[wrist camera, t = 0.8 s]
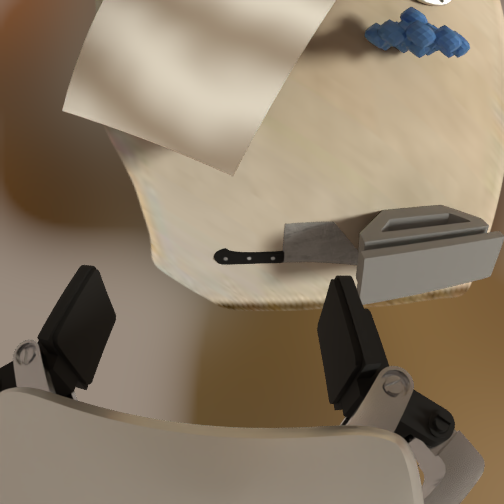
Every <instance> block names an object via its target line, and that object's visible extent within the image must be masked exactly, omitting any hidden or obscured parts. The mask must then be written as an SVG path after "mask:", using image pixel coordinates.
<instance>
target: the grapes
mask: <svg viewBox="0 0 504 504" xmlns="http://www.w3.org/2000/svg"><path fill="white" fill-rule="evenodd" d="M400 19H401V22H399V23H398V22H397V21H396V22H393V21H391V20H390V19H389V20H388V21H386V22H385V23H383V24H382V25H379V24H377V23H375V24H373V25H372V26H371V27H369V28H368V29H367V30H366V31H365V38H366V39H367V40H368V41H369V42H370V43H372V44H373V45H375V46H377V47H378V48H381V49H383V50H385V51H386V50H387V49H389V48H390V47H392V46H393V47H396V48H397V49H398V50H400V51H401V52H403V53H405V52H407V51H408V50H409V51H411V52H412V53H413V54H414V55H416V56H417V57H419V58H420V57H422V56H424V55H425V54H426V55H427V56H428V55H430V54H432V53H434V52H435V51H438V50H439V51H441V52H442V53H443V54H444V55H445V56H447V57H448V58H449V57H451V56H453V55H455V56H456V57H460V56H462V55H464V54H466V53H467V51H468V50H469V49H470V46H469V43H468V41H467V40H466V39H465V38H464V37H462V36H461V35H460V34H458V33H457V32H456V31H453V30H451V29H450V28H448V27H447V26H445V25H444V26H442V27H440V28H437V27H435V26H434V25H431V24H429V23H427V22H428V21H427V19H426V17H425V15H423V14H422V13H421V12H420V11H418V10H416V9H414V8H413V7H410V8H408V9H407V10H405V11H404V12H403V13H401V16H400Z"/></svg>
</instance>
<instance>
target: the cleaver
mask: <svg viewBox="0 0 504 504" xmlns="http://www.w3.org/2000/svg"><path fill="white" fill-rule="evenodd" d="M214 258H215V260H216V261H217V262H218V263H219V264H257V263H282V262H323V263H339V264H350V265H357V262H358V250H357V249H356V248H355V247H354V246H353V244H352V243H351V242H350V241H349V239H348V238H347V237H346V236H345V235H344V233H343V232H342V231H341V230H340V229H339V228H338V226H337V225H336V224H335V223H334V222H307V223H291V224H285V230H284V243H283V251H276V252H234V251H229V250H228V249H221V250H219V251H217V252H216V253H215V255H214Z"/></svg>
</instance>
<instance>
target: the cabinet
mask: <svg viewBox="0 0 504 504" xmlns="http://www.w3.org/2000/svg"><path fill="white" fill-rule="evenodd" d="M335 1H336V0H103V2H102V4H101V6H100V8H99V10H98V12H97V14H96V16H95V18H94V20H93V22H92V25H91V27H90V29H89V32H88V34H87V36H86V39H85V41H84V44H83V46H82V49H81V52H80V54H79V57H78V60H77V62H76V65H75V68H74V71H73V74H72V78H71V81H70V84H69V88H68V91H67V94H66V98H65V102H64V106H63V110H62V111H64V112H67V113H71V114H74V115H77V116H80V117H83V118H86V119H89V120H92V121H95V122H98V123H101V124H104V125H106V126H109V127H112V128H115V129H118V130H120V131H123V132H126V133H129V134H131V135H134V136H137V137H139V138H142V139H145V140H147V141H150V142H152V143H155V144H158V145H160V146H163V147H165V148H168V149H170V150H173V151H175V152H178V153H180V154H182V155H185V156H187V157H190V158H192V159H194V160H197V161H199V162H202V163H204V164H206V165H209V166H211V167H213V168H215V169H218V170H220V171H222V172H225V173H227V174H229V175H231V176H234V174H235V172H236V170H237V168H238V166H239V164H240V162H241V160H242V158H243V156H244V154H245V153H246V151H247V149H248V147H249V145H250V143H251V141H252V139H253V138H254V136H255V134H256V132H257V130H258V128H259V127H260V125H261V123H262V121H263V119H264V117H265V116H266V114H267V112H268V110H269V109H270V107H271V105H272V103H273V101H274V100H275V98H276V96H277V94H278V93H279V91H280V89H281V88H282V86H283V84H284V82H285V81H286V79H287V77H288V76H289V74H290V72H291V71H292V69H293V67H294V65H295V64H296V62H297V61H298V59H299V57H300V56H301V54H302V52H303V51H304V49H305V47H306V46H307V44H308V43H309V41H310V39H311V38H312V36H313V35H314V33H315V32H316V30H317V28H318V27H319V25H320V24H321V22H322V21H323V19H324V18H325V16H326V15H327V13H328V12H329V10H330V9H331V7H332V6H333V4H334V3H335Z"/></svg>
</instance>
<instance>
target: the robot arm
mask: <svg viewBox="0 0 504 504" xmlns="http://www.w3.org/2000/svg"><path fill="white" fill-rule="evenodd" d="M417 1H419V2H421V3H424V4H427V5H432V6H441V5H445V4H448V3H449V2H451V1H452V0H417ZM115 320H116V314H115V312H114V309H113V307H112V304H111V302H110V299H109V297H108V294H107V292H106V289H105V286H104V283H103V281H102V278H101V275H100V272H99V271H98V270H96V268H95V267H94V266H89V265H82V266H81V267H80V268H79V269H78V271H77V272H76V274H75V275H74V277H73V278H72V280H71V281H70V283H69V284H68V286H67V287H66V289H65V290H64V292H63V294H62V295H61V297H60V299H59V300H58V302H57V304H56V305H55V307H54V308H53V310H52V312H51V314H50V315H49V317H48V319H47V321H46V323H45V324H44V326H43V328H42V330H41V331H40V333H39V335H38V339H39V341H38V343H37V342H35V341H34V340H26V341H23V342H22V343H20V344H19V345H18V346H17V348H16V349H15V351H14V354H13V361H12V362H10V363H9V364H7V365H5V366H3V367H1V368H0V504H460V503H461V501H462V500H463V499H464V498H465V497H466V495H467V494H468V493H469V491H470V490H471V489H472V487H473V486H474V485H475V484H476V482H477V481H478V479H479V478H480V477H481V475H482V473H483V471H484V460H483V458H482V456H481V455H480V454H479V453H478V452H477V450H476V449H475V448H474V447H473V446H472V444H471V443H470V442H469V441H468V440H467V439H466V438H465V436H464V435H463V434H462V433H461V432H460V431H458V432H456V431H455V430H454V428H455V422H454V419H453V416H452V415H451V413H450V412H448V411H447V410H446V409H444V408H443V407H441V406H439V405H438V404H436V403H435V402H433V401H431V400H430V399H428V398H426V397H425V396H423V395H421V394H420V393H418V392H416V391H415V390H414V389H413V388H414V384H413V380H412V377H411V376H410V375H409V373H408V372H407V371H406V370H404V369H403V368H400V367H397V366H390V367H389V364H388V361H387V358H386V355H385V352H384V349H383V346H382V343H381V340H380V337H379V334H378V332H377V329H376V326H375V323H374V320H373V318H372V315H371V312H370V311H369V310H368V309H364V308H363V305H362V302H361V299H360V297H359V294H358V291H357V289H356V286H355V283H354V281H353V278H352V277H351V276H336V278H335V279H332V280H331V282H330V285H329V289H328V292H327V296H326V299H325V303H324V306H323V309H322V313H321V316H320V319H319V322H318V328H317V331H318V337H319V342H320V349H321V354H322V360H323V366H324V372H325V377H326V384H327V390H328V397H329V402H330V404H334V408H335V410H342V409H343V415H344V416H345V419H344V420H343V422H342V423H341V425H340V426H320V427H304V428H235V427H218V426H206V425H196V424H186V423H179V422H171V421H165V420H158V419H152V418H147V417H142V416H137V415H131V414H127V413H122V412H118V411H114V410H109V409H105V408H101V407H98V406H94V405H90V404H87V403H84V402H80V401H78V400H77V397H76V395H75V392H74V389H75V387H78V388H81V389H84V390H87V387H88V384H91V383H92V381H93V378H94V375H95V372H96V369H97V367H98V364H99V361H100V358H101V356H102V353H103V350H104V348H105V345H106V343H107V340H108V338H109V335H110V333H111V330H112V328H113V326H114V323H115ZM415 459H416V460H417V461H418V462H419V465H418V466H419V467H420V469H421V470H422V471H423V473H424V478H425V480H424V483H423V486H421V480H420V475H419V471H418V468H417V463H416V460H415Z"/></svg>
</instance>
